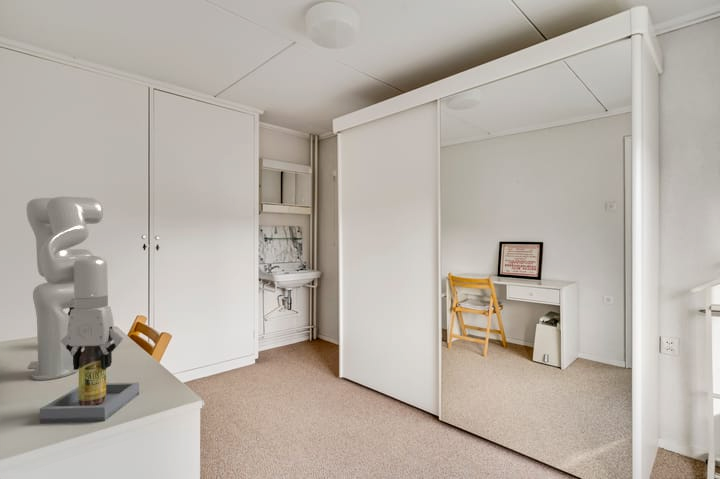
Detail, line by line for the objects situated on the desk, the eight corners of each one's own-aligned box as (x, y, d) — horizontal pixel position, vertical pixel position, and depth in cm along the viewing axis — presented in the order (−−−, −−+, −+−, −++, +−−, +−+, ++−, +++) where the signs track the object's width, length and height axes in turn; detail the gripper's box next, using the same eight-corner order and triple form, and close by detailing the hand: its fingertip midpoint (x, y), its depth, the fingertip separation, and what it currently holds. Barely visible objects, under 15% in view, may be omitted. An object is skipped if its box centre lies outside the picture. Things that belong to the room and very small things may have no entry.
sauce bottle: (84, 410, 99) (82, 335, 99) (74, 404, 102) (72, 332, 102) (111, 400, 105) (109, 329, 104) (101, 395, 108) (99, 326, 107)
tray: (40, 422, 95) (39, 409, 95) (83, 395, 111) (83, 383, 111) (104, 420, 96) (104, 407, 96) (139, 394, 112) (139, 382, 112)
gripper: (47, 306, 99) (49, 373, 99) (115, 305, 100) (116, 372, 100) (68, 301, 106) (70, 363, 107) (131, 300, 107) (132, 362, 107)
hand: (92, 367), depth 103 cm, fingers open, 6 cm apart
